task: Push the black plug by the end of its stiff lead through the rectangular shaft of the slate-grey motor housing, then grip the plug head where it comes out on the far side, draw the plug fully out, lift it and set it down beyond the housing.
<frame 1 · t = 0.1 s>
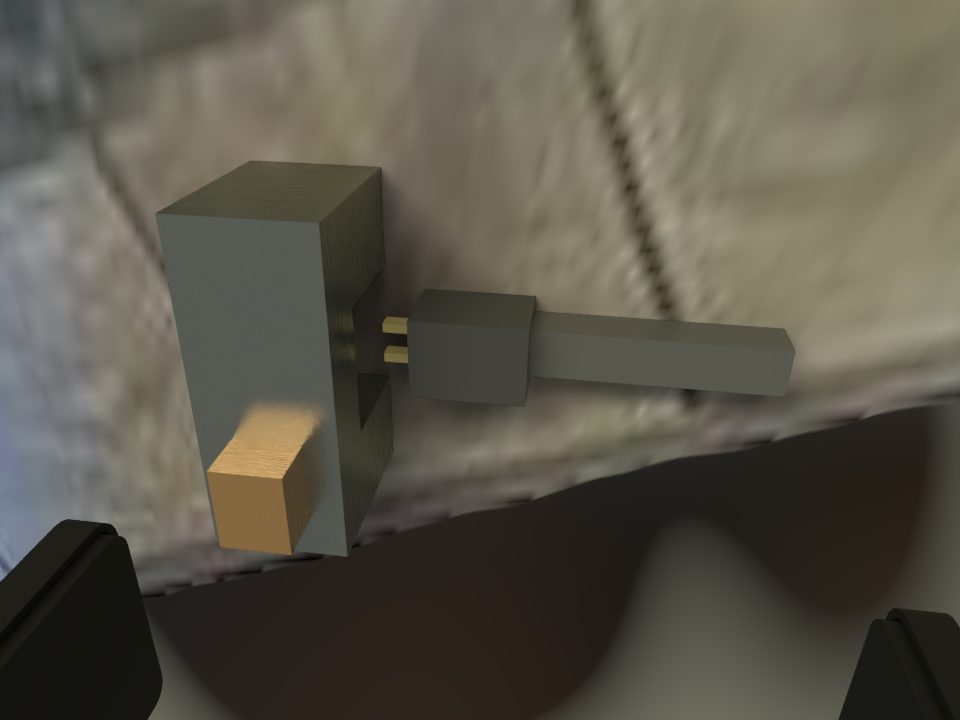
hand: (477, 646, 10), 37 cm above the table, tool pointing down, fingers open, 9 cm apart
plug: (479, 328, 49), on the table
motor housing: (327, 317, 50), on the table
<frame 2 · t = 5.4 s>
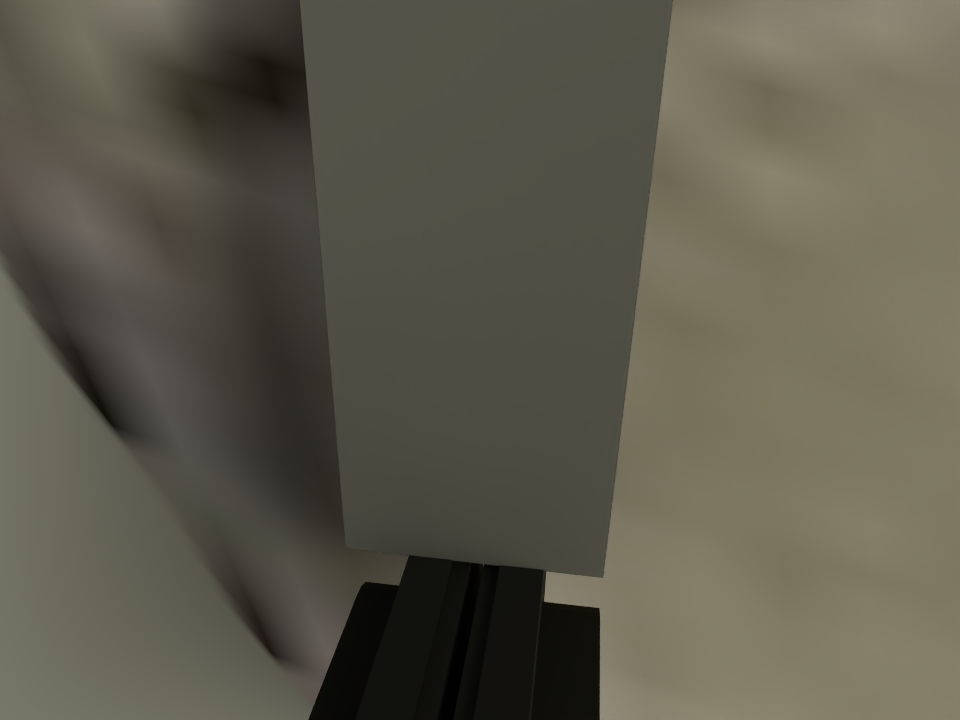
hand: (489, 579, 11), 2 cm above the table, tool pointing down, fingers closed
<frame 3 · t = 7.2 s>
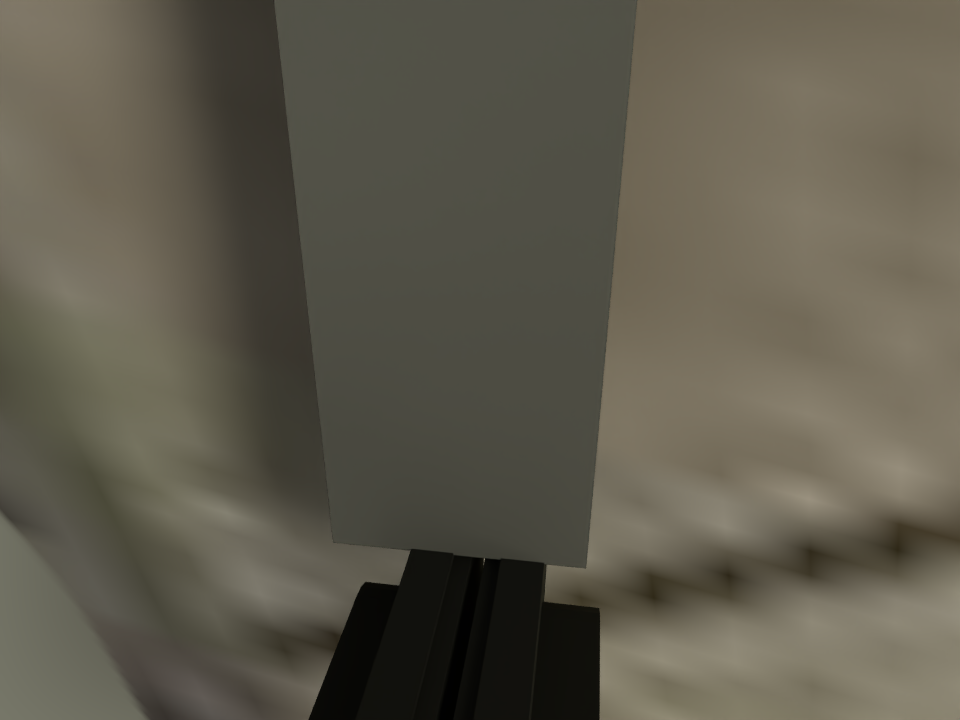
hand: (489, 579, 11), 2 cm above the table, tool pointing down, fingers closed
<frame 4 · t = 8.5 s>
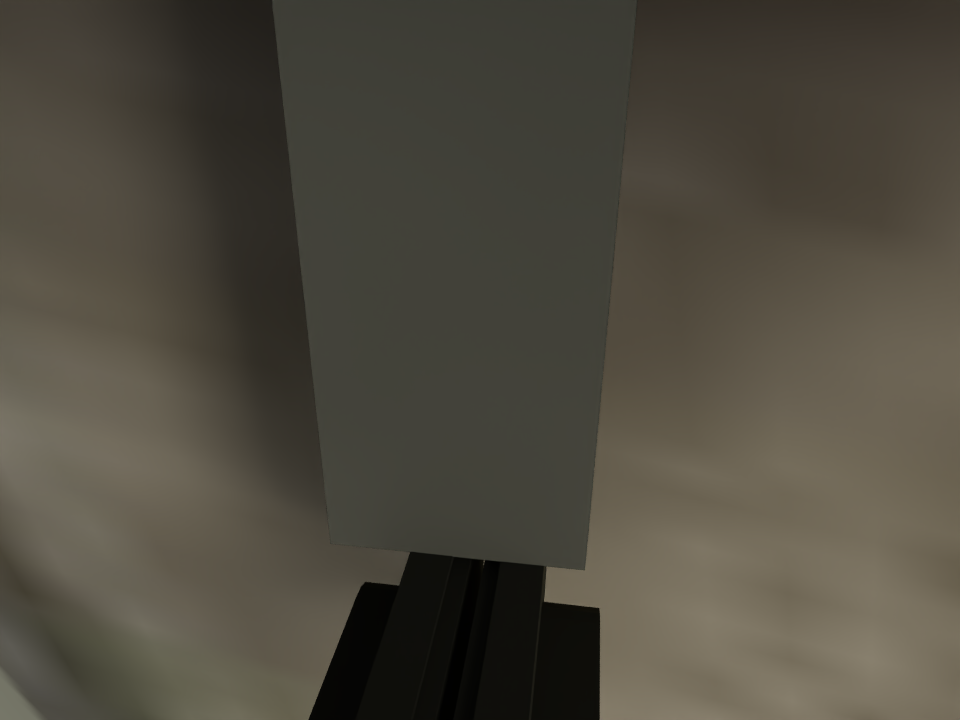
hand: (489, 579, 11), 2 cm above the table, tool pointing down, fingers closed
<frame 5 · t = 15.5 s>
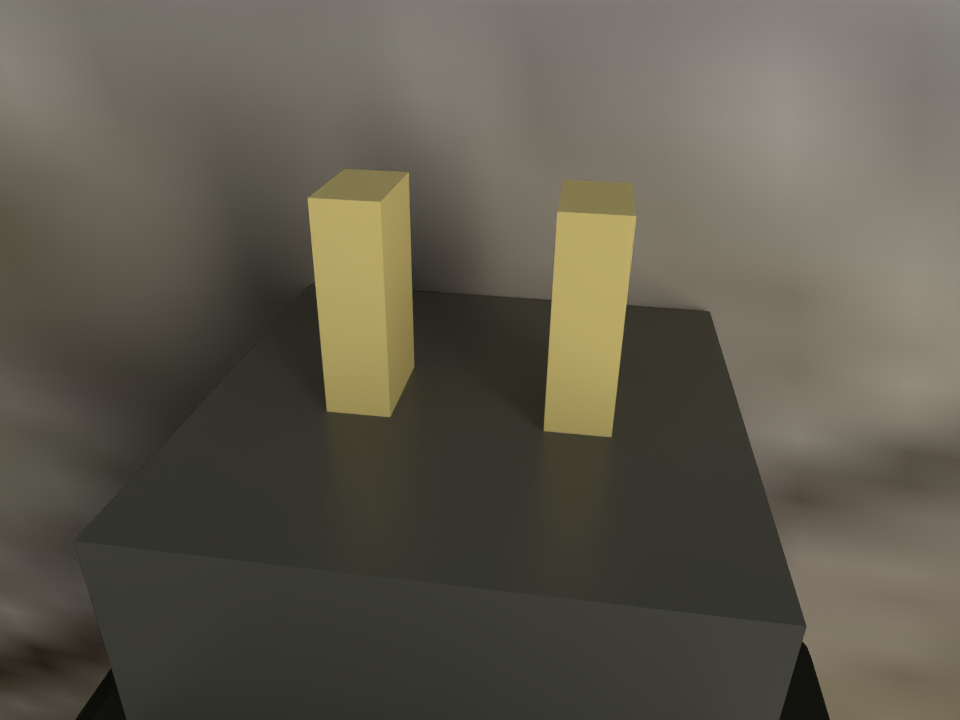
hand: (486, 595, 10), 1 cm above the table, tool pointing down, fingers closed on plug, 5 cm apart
plug: (497, 519, 11), on the table, touching gripper
when the fingers open (2 cm above the table, at t = 23.0 s): plug drops 1 cm, on the table.
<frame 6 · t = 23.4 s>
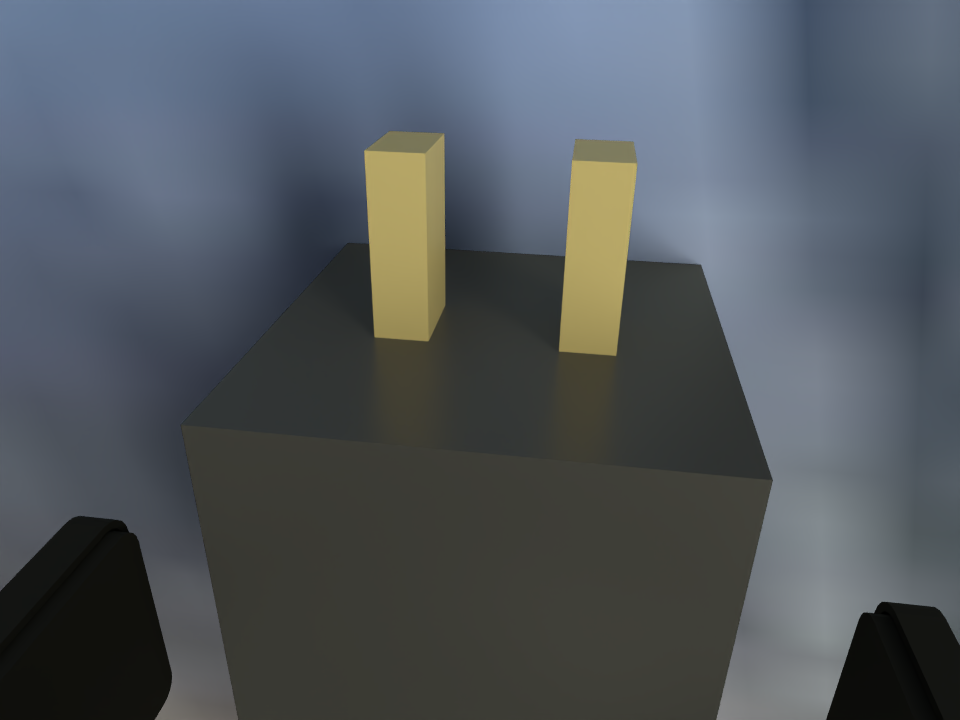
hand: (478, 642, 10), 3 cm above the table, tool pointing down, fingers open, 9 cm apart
plug: (511, 458, 12), on the table
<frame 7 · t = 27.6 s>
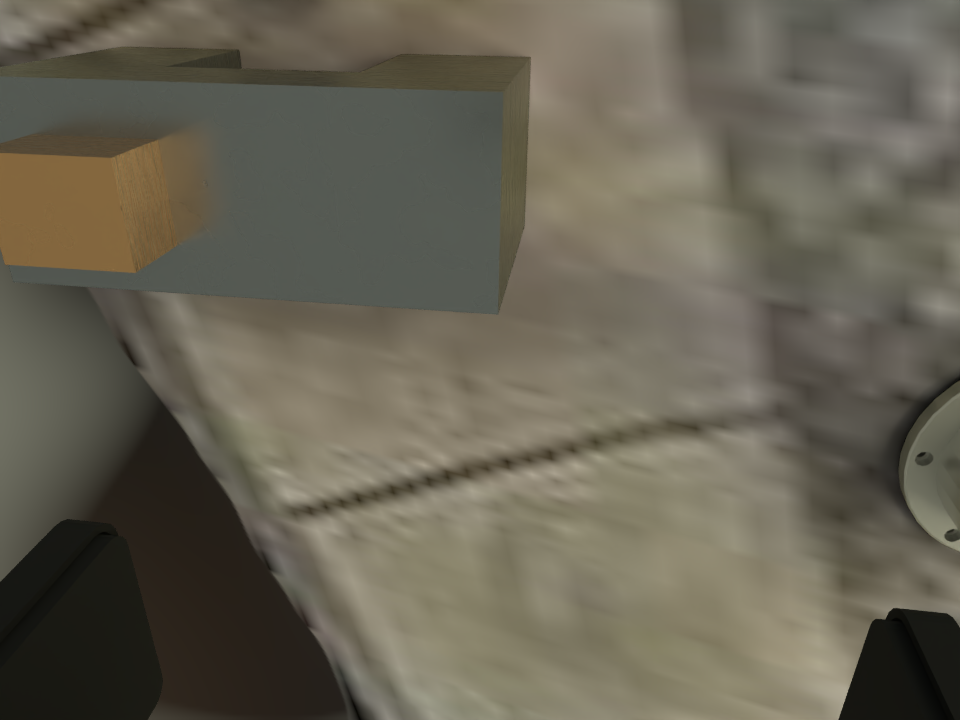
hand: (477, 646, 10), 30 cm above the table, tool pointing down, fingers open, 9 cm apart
motor housing: (326, 138, 38), on the table
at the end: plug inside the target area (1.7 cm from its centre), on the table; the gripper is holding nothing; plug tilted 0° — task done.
